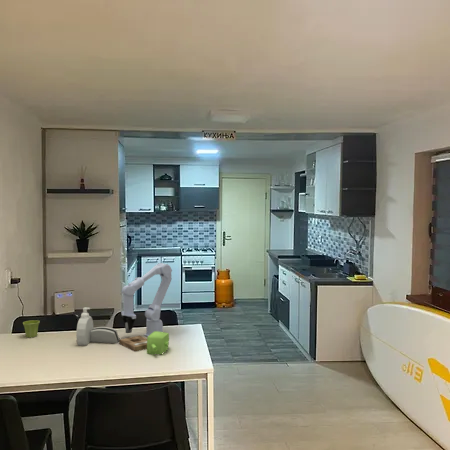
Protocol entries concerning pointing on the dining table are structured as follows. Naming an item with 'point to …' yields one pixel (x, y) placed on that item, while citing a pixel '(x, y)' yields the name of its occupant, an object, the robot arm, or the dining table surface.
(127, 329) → the mottled grey cylinder
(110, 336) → the grey rounded piece
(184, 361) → the dining table surface
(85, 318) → the soap bottle
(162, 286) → the robot arm
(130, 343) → the jig
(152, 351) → the gearbox
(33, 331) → the plant pot
